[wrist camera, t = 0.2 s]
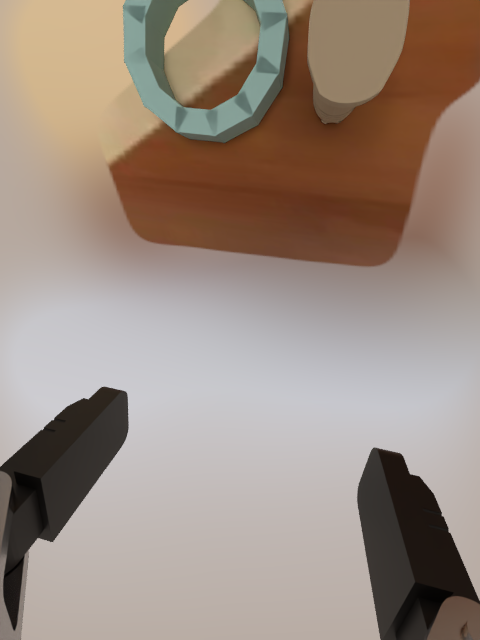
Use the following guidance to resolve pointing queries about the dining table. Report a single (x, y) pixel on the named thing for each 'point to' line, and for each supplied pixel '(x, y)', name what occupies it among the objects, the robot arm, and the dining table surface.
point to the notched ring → (149, 78)
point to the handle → (352, 51)
